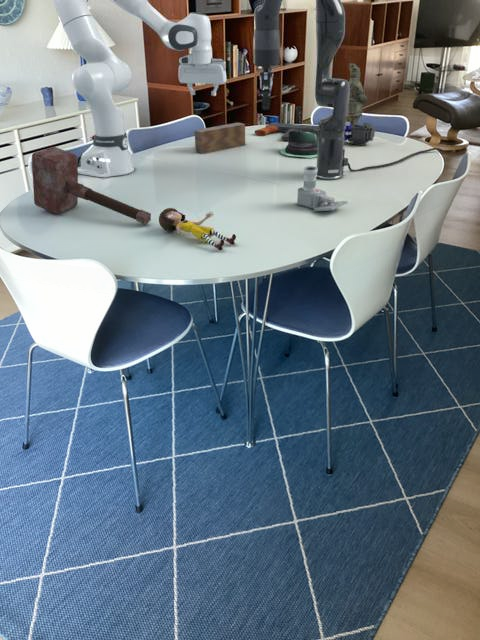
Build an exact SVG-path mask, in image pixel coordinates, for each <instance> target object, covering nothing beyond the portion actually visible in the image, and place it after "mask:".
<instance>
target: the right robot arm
mask: <svg viewBox="0 0 480 640" xmlns="http://www.w3.org/2000/svg"><path fill="white" fill-rule="evenodd" d="M282 3H283V0H264V2H263V4H259V5H258V6H256V7H255V9H254V13H253V16H254V17H253V38H252V39H253V41H252V42H253V65H254V66H256V67H261V69H262V70H261V71H260V72H259V85H260V86H259V88H260V90H261V91H260V95H261V109H262V110H263V111H269V110H270V109H271V108H270V107H271V106H270V105H271V95H272V93H271V91H272V89H273V81H274V71H272V67H277V66H279V65H280V55H281V54H280V53H281V51H280V49H281V48H280V47H281V35H280V11H281V8H282ZM345 33H346V12H345V7H344V5H343V2H342V0H315V37H316V66H315V67H316V68H315V82H314V83H315V84H314V85H315V86H314V98H315V102H316V104H317V106H319V107H323V108H332V113H331V114H330V115H328V116H324V117H321V118H320V119H319V120H318V125H317V126H318V148H317V157H316V167H317V168H318V170H317V177H316V178H318V179H322V180H337V179H340V178H342V176H343V175H344V167H346V166H347V168H348V170H349V172H361V171H365V170H368V169H370V170H371V169H378V168H383V167H388V166H392V165H395V164H398V163H401V162H403V161H405V160H407V159H409V158H410V157H413V156H416V155H419V154H424V153H427V152H431V151H440V152H441V153H444V150H443V149H442V148H440V147H432V148H429V149H424V150H418V151H415V152H413V153H410V154H409V155H407V156H404V157H402V158H399V159H398V160H395V161H392V162H389V163H383V164H379V165H370V166H363V167H362V168H358V169H352V167H351V164H350V163H349V158H348V157H345V154H346V153H345V151H346V150H345V148H344V147H345V146H344V143H345V141H344V131H345V123H346V118H347V110H348V102H349V93H350V88H349V83H348V82H349V81H348V80H347V79H343V78H334V77H333V78H332V77H331V66H332V62H333V61H334V57H335V56H336V53H337V52H338V50H339V48H340V47H341V45H342V43H343V40H344V38H345V35H346V34H345Z"/></svg>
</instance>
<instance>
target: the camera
mask: <svg viewBox="0 0 480 640" xmlns="http://www.w3.org/2000/svg"><path fill="white" fill-rule="evenodd" d="M317 170H318V168H317V166H313V165H308V166H304V167H303V170H302V171H303V173H302V176H303V186H302V187H298V188H297V200H296V204H297V205H299V206H301V207H302V206H303V207H305V208H309V209H312V210H313V212H323V211H334V210H336V209H338V208H341V207H342V206H344V205H347V204H349V202H348V201H347V200H343V201H335V197H332V196H328V195H327V192H326V190H323V189H318V188H316V184H317V178H318V177H317Z"/></svg>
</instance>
